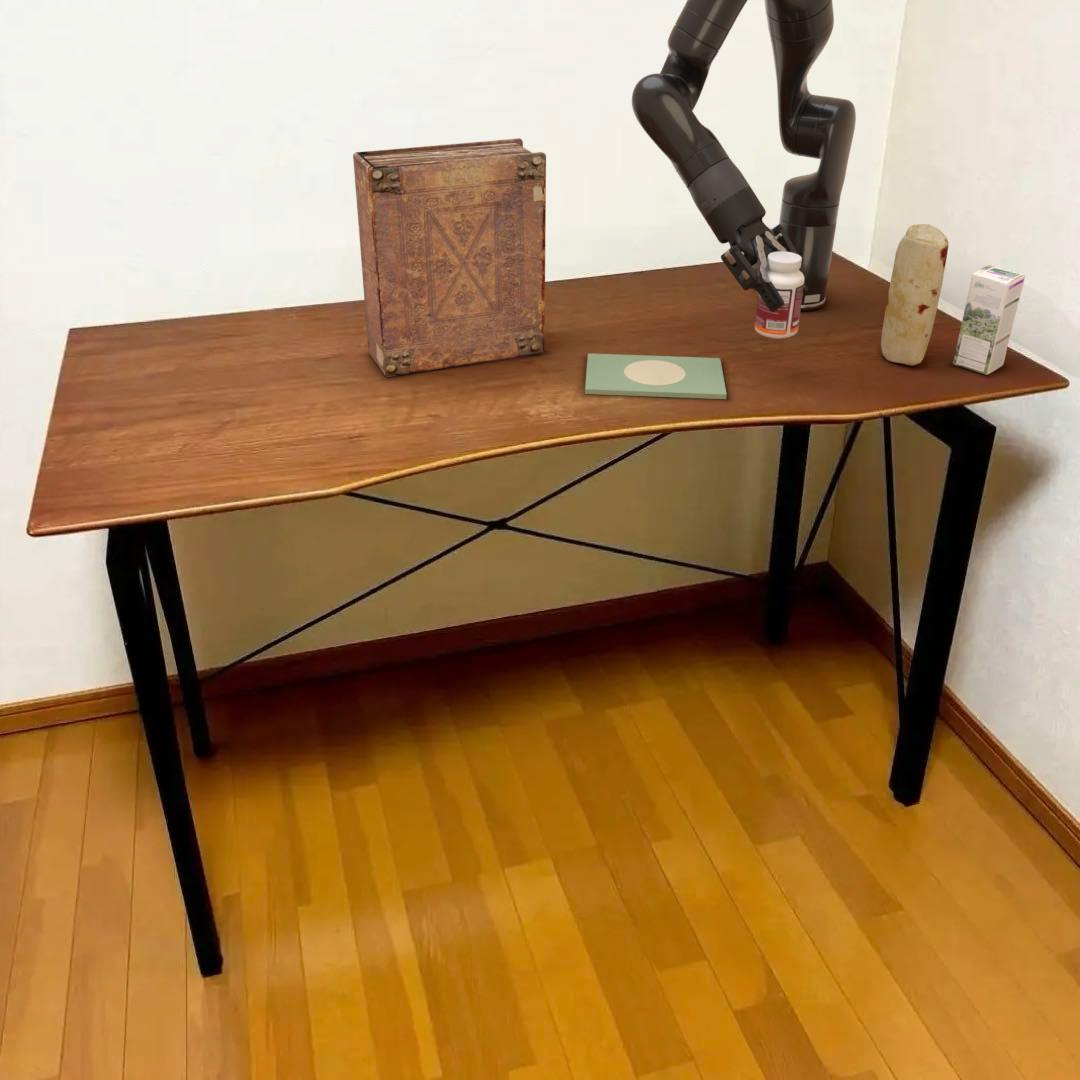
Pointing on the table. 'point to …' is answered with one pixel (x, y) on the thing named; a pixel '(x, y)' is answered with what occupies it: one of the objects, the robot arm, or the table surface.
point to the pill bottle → (790, 289)
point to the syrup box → (988, 319)
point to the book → (452, 253)
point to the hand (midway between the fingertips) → (790, 301)
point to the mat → (655, 376)
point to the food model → (914, 294)
